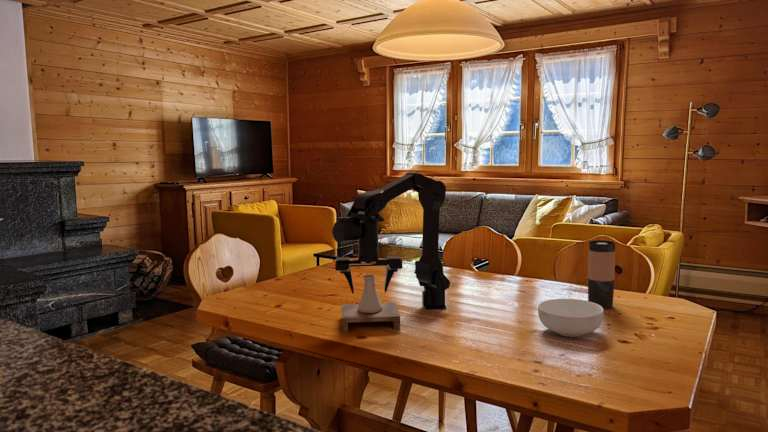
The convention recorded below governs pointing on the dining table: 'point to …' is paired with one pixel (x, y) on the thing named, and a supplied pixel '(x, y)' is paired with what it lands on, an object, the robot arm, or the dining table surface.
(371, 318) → the walnut shelf
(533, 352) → the dining table surface
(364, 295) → the flask
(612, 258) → the travel mug
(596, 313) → the cereal bowl
